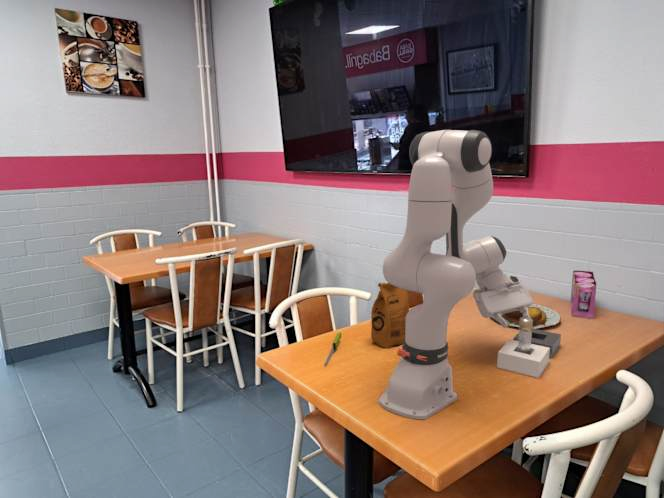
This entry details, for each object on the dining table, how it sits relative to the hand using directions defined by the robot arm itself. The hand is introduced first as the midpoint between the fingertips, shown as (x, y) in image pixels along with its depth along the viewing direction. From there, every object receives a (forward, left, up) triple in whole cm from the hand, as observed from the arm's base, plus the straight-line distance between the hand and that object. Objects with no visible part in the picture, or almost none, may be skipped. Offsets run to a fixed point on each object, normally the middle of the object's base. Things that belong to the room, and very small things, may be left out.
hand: (517, 324), depth 144 cm
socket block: (+15, -3, -12) cm, 20 cm away
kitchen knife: (-28, +50, -13) cm, 59 cm away
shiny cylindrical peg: (-1, -3, -12) cm, 13 cm away
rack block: (-1, -3, -12) cm, 13 cm away
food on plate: (+40, +8, -13) cm, 43 cm away
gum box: (+65, -8, -13) cm, 67 cm away
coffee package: (-8, +40, -13) cm, 43 cm away
